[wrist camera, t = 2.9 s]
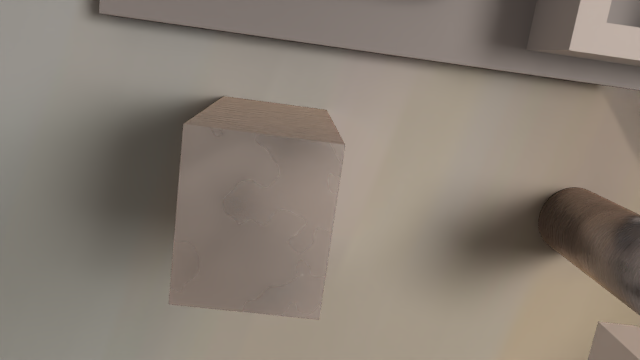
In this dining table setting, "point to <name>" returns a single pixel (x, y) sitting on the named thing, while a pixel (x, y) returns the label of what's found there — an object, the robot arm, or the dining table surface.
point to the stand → (436, 30)
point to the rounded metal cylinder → (596, 240)
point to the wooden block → (256, 208)
